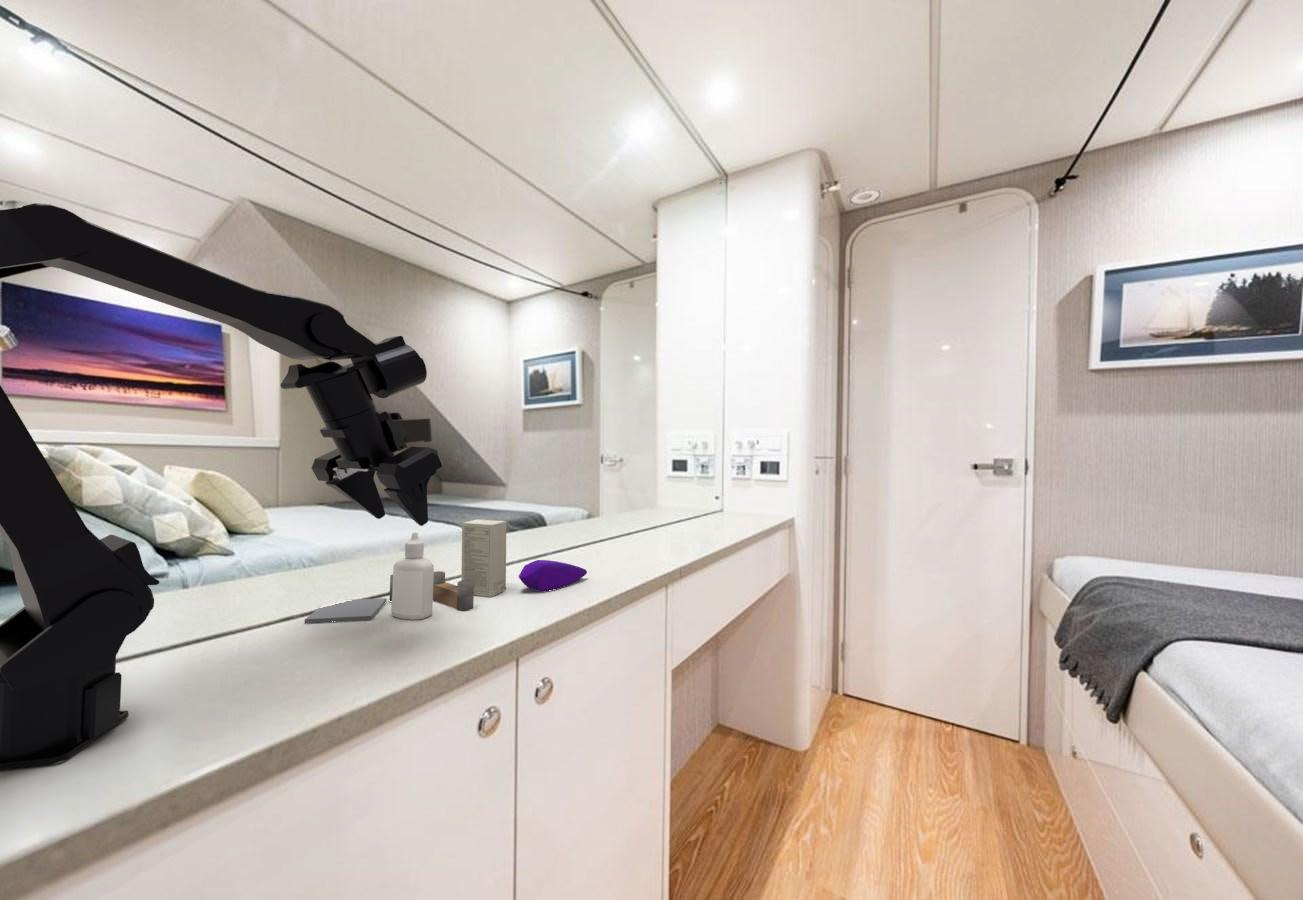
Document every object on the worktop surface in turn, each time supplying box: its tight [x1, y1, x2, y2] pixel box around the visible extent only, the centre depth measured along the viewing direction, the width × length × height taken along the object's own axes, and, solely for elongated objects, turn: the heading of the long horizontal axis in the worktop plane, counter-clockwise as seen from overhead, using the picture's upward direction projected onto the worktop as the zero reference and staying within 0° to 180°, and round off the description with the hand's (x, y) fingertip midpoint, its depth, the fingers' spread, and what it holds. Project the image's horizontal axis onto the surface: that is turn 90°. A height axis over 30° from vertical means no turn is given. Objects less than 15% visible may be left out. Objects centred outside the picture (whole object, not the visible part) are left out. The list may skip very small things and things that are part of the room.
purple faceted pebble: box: [518, 559, 588, 593], centre depth 85 cm, size 5×5×15 cm
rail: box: [389, 570, 475, 612], centre depth 73 cm, size 13×8×4 cm, turn 106°
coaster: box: [304, 597, 388, 624], centre depth 68 cm, size 8×8×1 cm
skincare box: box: [460, 518, 507, 598], centre depth 80 cm, size 6×4×12 cm
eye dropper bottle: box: [391, 532, 435, 621], centre depth 68 cm, size 4×6×12 cm
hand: (402, 520), depth 63 cm, fingers open, 9 cm apart
